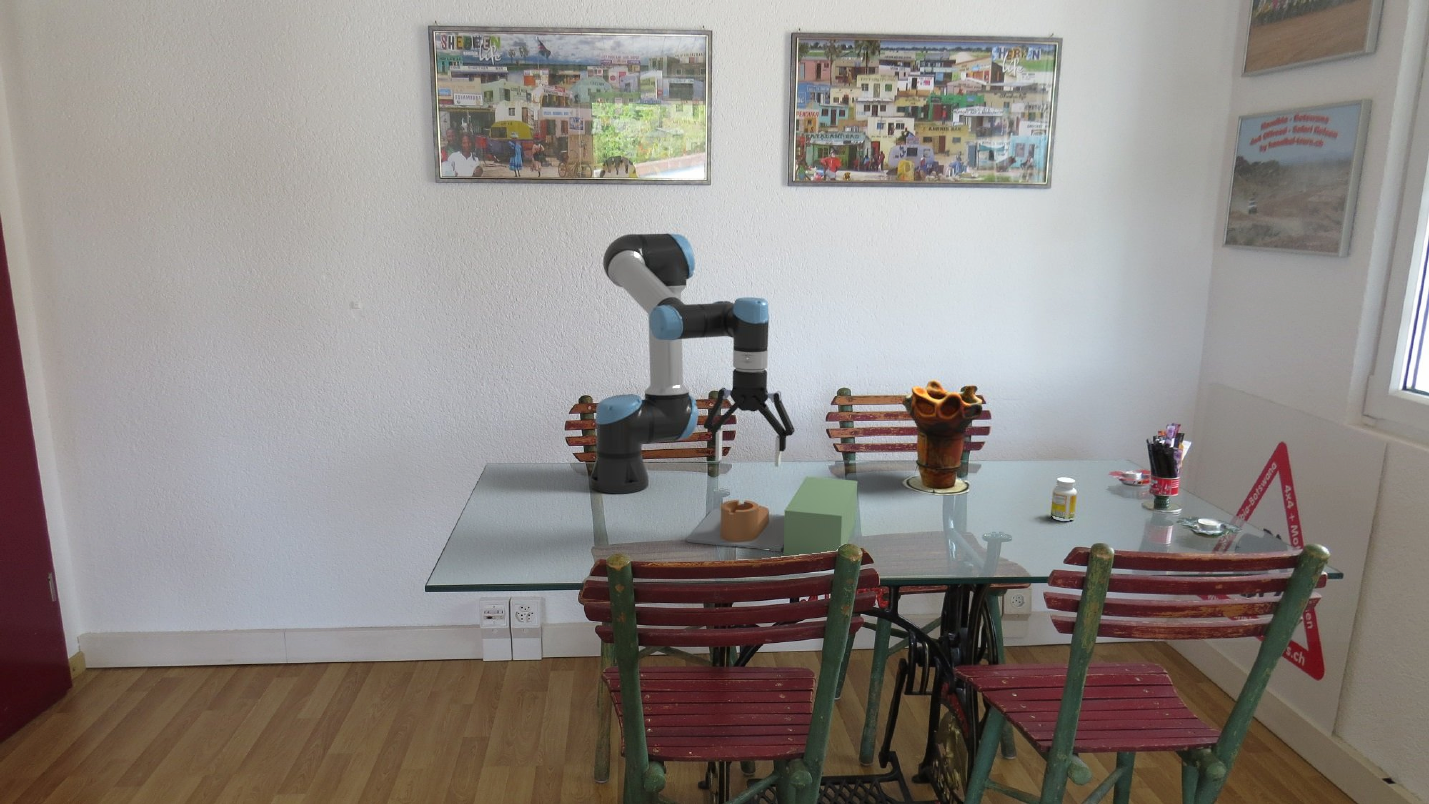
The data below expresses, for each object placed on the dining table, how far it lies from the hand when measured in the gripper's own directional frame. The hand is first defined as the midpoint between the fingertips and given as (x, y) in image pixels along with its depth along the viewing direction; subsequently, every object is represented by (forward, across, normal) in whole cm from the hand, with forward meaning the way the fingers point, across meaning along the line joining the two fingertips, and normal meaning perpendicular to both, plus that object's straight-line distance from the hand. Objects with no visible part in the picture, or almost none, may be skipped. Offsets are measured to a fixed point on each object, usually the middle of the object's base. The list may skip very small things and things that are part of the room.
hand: (748, 462), depth 215 cm
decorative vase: (+16, +40, +49) cm, 65 cm away
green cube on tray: (+16, +6, 0) cm, 17 cm away
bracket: (+16, 0, -1) cm, 16 cm away
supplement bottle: (+16, +70, +30) cm, 78 cm away
